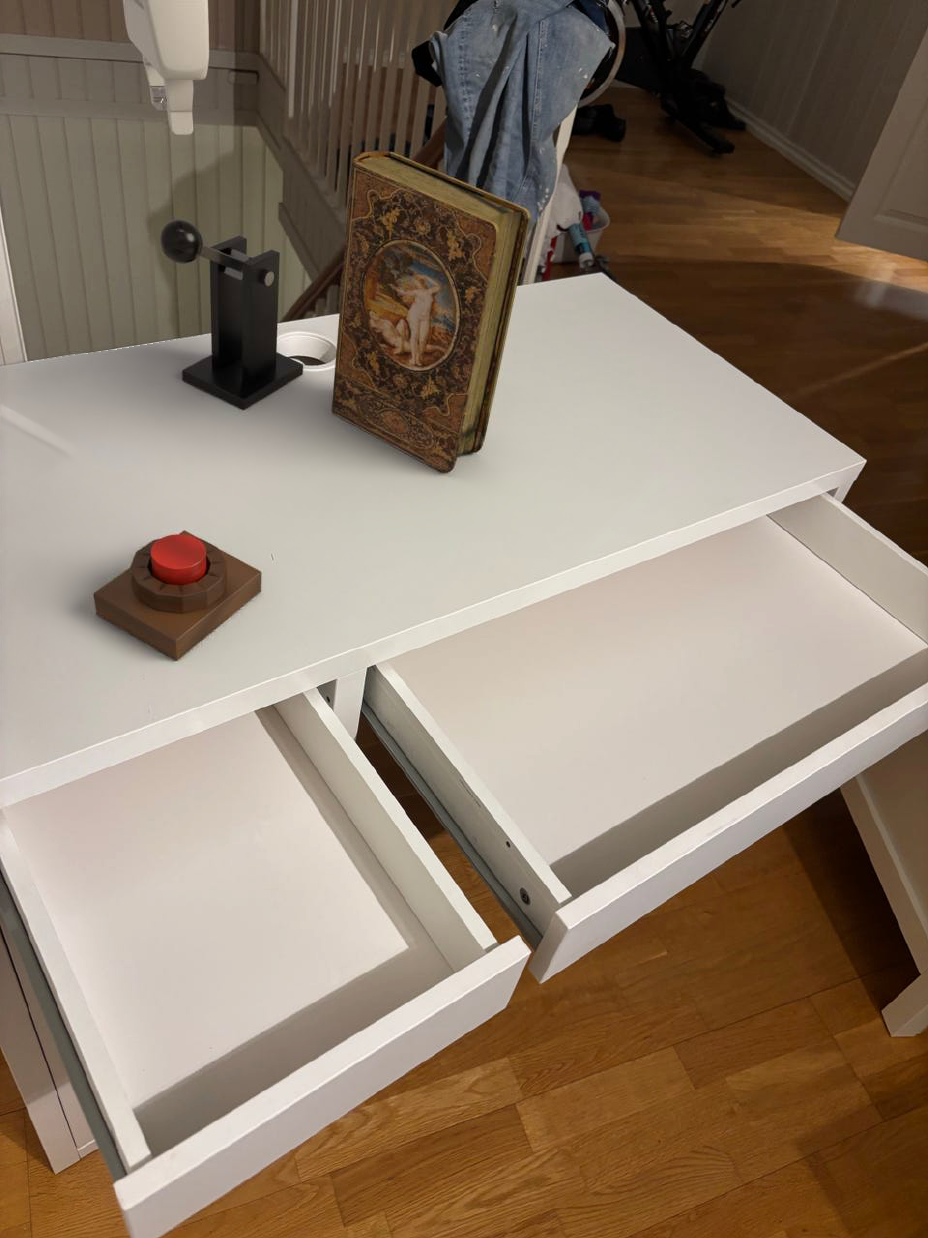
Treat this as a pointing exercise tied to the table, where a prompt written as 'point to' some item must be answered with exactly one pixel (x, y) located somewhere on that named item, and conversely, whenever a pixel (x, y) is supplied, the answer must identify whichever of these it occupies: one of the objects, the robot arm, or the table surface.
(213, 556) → the button block
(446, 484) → the table surface
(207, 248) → the lever
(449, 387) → the book
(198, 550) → the button
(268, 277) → the bracket
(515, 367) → the table surface
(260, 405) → the table surface
